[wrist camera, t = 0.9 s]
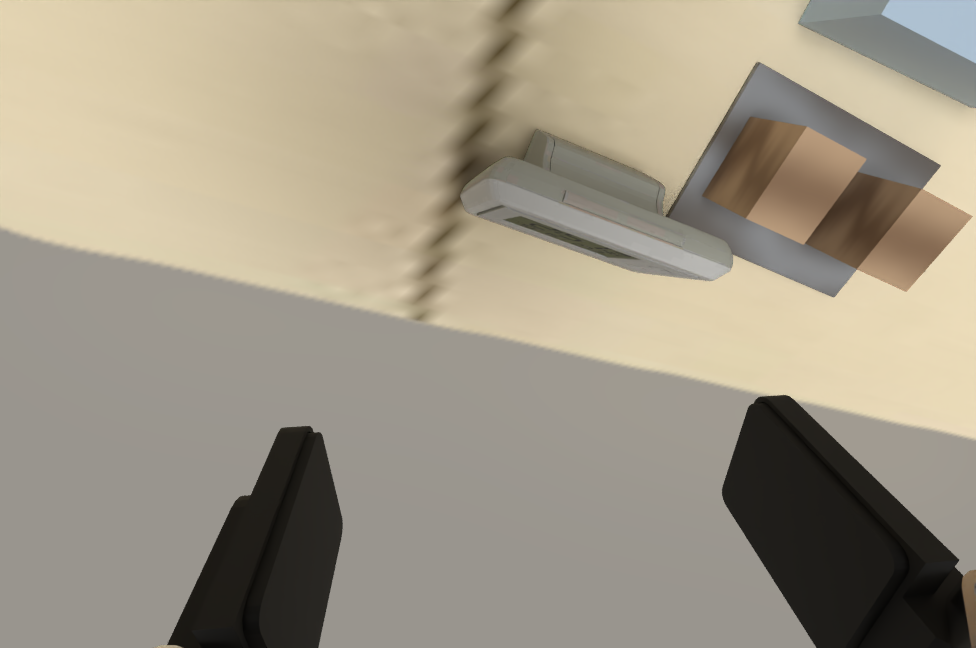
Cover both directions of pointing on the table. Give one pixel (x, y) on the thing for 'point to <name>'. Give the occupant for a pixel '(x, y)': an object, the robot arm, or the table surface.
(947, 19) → the lintel
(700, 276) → the digital clock
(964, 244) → the table surface
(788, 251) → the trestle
